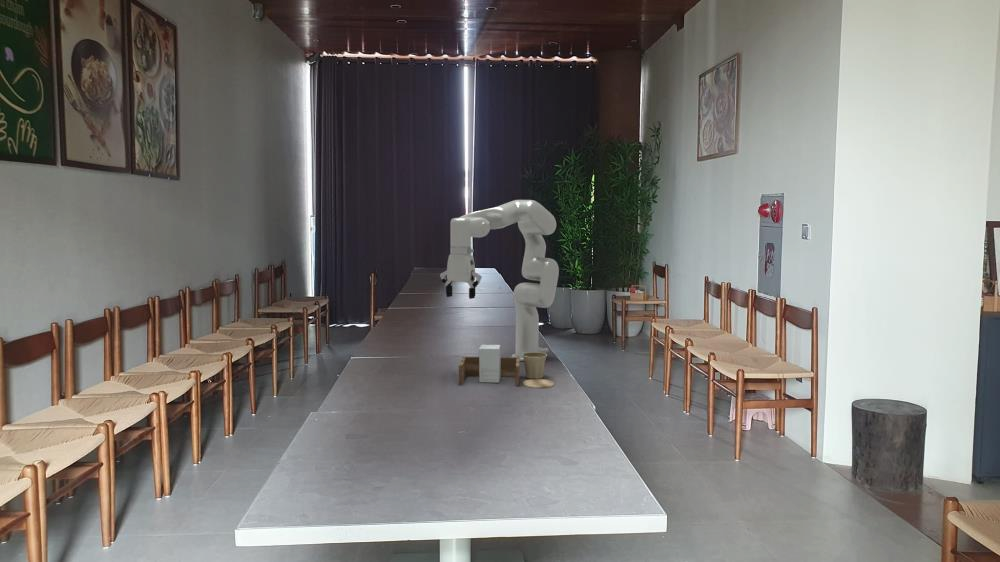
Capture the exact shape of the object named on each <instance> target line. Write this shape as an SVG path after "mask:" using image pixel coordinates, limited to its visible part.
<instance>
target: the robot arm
mask: <svg viewBox="0 0 1000 562" xmlns="http://www.w3.org/2000/svg"><path fill="white" fill-rule="evenodd" d="M516 223H517V226H518V229H519V231H520V232H521V234H522V236H523V238H524V242H525V248H524V255H523V261H522V266H521V276H522V277H523V278H524V279H526V280H531V281H539V283H536V282H534V283H533V282H520V283H518V284H517V285H516V286H515V287H514V288H513V289H514V290H513V299H514V301H513V302H514V306H515V308H514V309H515V350H514V351H515V353H512V354H511V357H520V362H524V359H523V356H522V354H523V353H527V352H541V353H546V354H547V353H549V351H550V350H549V348H548V347H544V348H543V347H540V346H539V329H540V328H539V326H540V325H539V323H540V321H539V320H540V319H539V318H540V317H539V316H540V315H539V313H538V309H537V308H543V309H547V308H550V307H551V306H552V305H553V304H554V300H555V297H556V292H557V286H558V281H559V275H560V274H559V271H560V267H559V265H558V262H557V261H556V260H555V259H553V258H550V257H546V251H547V245H546V241H545V239H544V237H543V236H549V235H552V234H553V233H555V231H556V228H557V221H556V218H555V217H554V215H553V214H552V213H551V212H550V211H549V210H547V209H546V207H545V206H543V205H542V204H541V203H539V202H538V201H537V200H533V199H514V200H512V201H511V200H510V201H509V202H505V203H503V204H500V205H498V206H495V207H491V208H486V209H482V210H478V211H477V210H476V211H472V212H469V213H466V214H464V215H461V216H459V217H454V218H451V220H450V223H449V224H450V248H449V249H450V252H449V253H450V254H449V255H448V258H447V265H446V270H445V271H443V272H441V273H439V277H440V279H441V282H442V283H443V284H444V286H445V295H446V297H447V298H450V297H453V285H452V284H453V283H463V284H464V283H467V284H468V286H469V288H468V299H469V300H471V299H475V297H476V288H477V287H478V285H480V282H481V281H482V279H483V277H482V275H480V274H479V273H477V272H476V267H475V265H476V264H475V260H474V259H475V258H474V255H472V254H473V253H474V251H475V250H474V248H472V238H483V237H486V236H487V235H488V234H489V233H490V231H491V230H498V229H504V228H505V227H508V226H510V225H513V224H516Z"/></svg>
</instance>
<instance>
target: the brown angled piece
mask: <svg viewBox="0 0 1000 562" xmlns="http://www.w3.org/2000/svg"><path fill="white" fill-rule="evenodd" d="M520 363H521V361H520V357H512V356H509V357H507V356H504V357H503V356H501V377H515V387H520V371H521V370H520V367H521V365H520ZM467 376H469V377H472V376H473V377H479V356H462V357H461V359H460V362H459V365H458V385H459V386H463V384H464V382H465V378H466V377H467Z"/></svg>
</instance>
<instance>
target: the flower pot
mask: <svg viewBox="0 0 1000 562" xmlns="http://www.w3.org/2000/svg"><path fill="white" fill-rule="evenodd" d="M522 356H523V359H524V361H523V362H524V368H525V377H526V378H527V379H529V380H530V379H543V377H544V371H545V366H546V365H545V363H546V361H547V357H548V354H547V352H546V353H541V352H527V353H523V354H522Z"/></svg>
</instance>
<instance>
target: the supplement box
mask: <svg viewBox="0 0 1000 562" xmlns="http://www.w3.org/2000/svg"><path fill="white" fill-rule="evenodd" d="M501 350H502V349H501V345H500V344H481V345H480V347H479V348H478V351H479V352H478V357H479V376H478V377H479V379H478V381H479V383H493V384H495V383H496V384H497V383H498V384H499V383H500V381H501V378H502V376H501V357H502V356H501V354H502V353H501Z"/></svg>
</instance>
